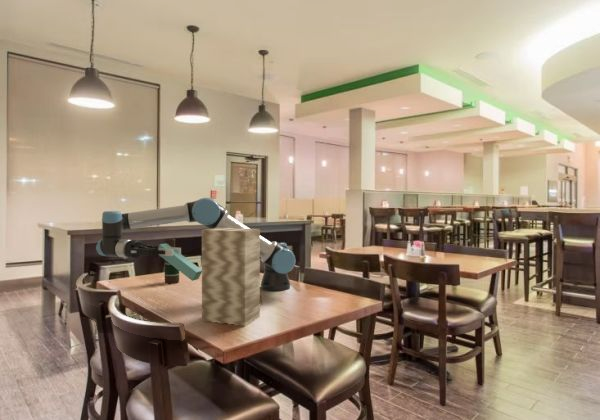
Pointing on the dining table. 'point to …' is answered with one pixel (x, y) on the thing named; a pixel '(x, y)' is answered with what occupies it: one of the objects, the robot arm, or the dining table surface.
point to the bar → (181, 263)
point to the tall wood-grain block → (231, 275)
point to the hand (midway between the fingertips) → (176, 251)
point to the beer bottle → (171, 268)
